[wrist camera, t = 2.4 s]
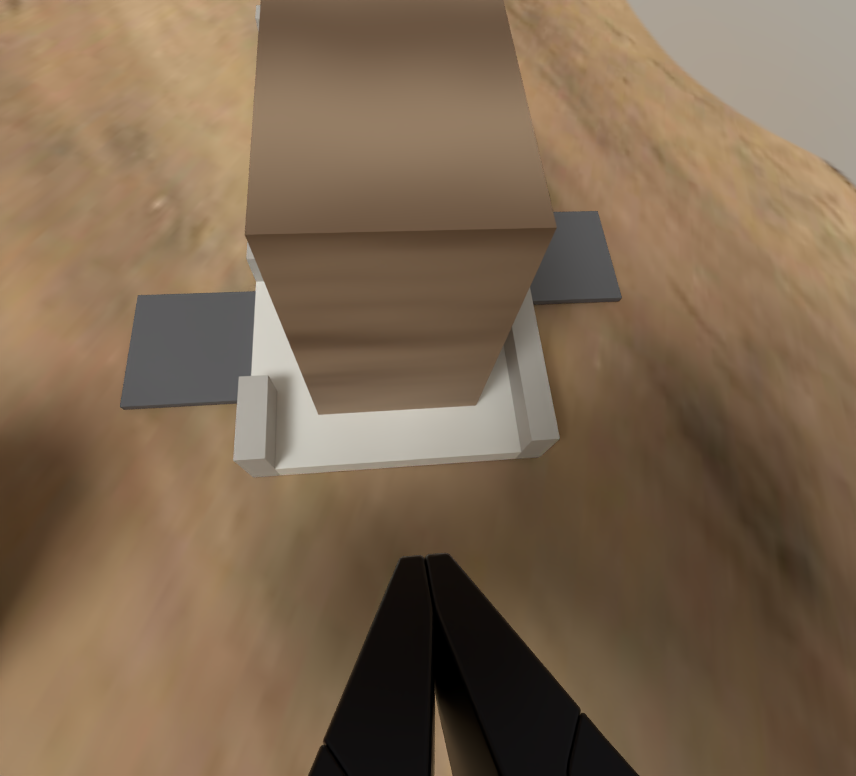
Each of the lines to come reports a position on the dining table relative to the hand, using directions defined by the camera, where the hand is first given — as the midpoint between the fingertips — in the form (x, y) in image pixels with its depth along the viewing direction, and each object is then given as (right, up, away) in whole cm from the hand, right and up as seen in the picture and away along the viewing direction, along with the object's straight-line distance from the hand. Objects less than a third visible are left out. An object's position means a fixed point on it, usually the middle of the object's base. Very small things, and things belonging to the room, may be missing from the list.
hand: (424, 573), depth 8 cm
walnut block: (-1, +7, +12) cm, 14 cm away
